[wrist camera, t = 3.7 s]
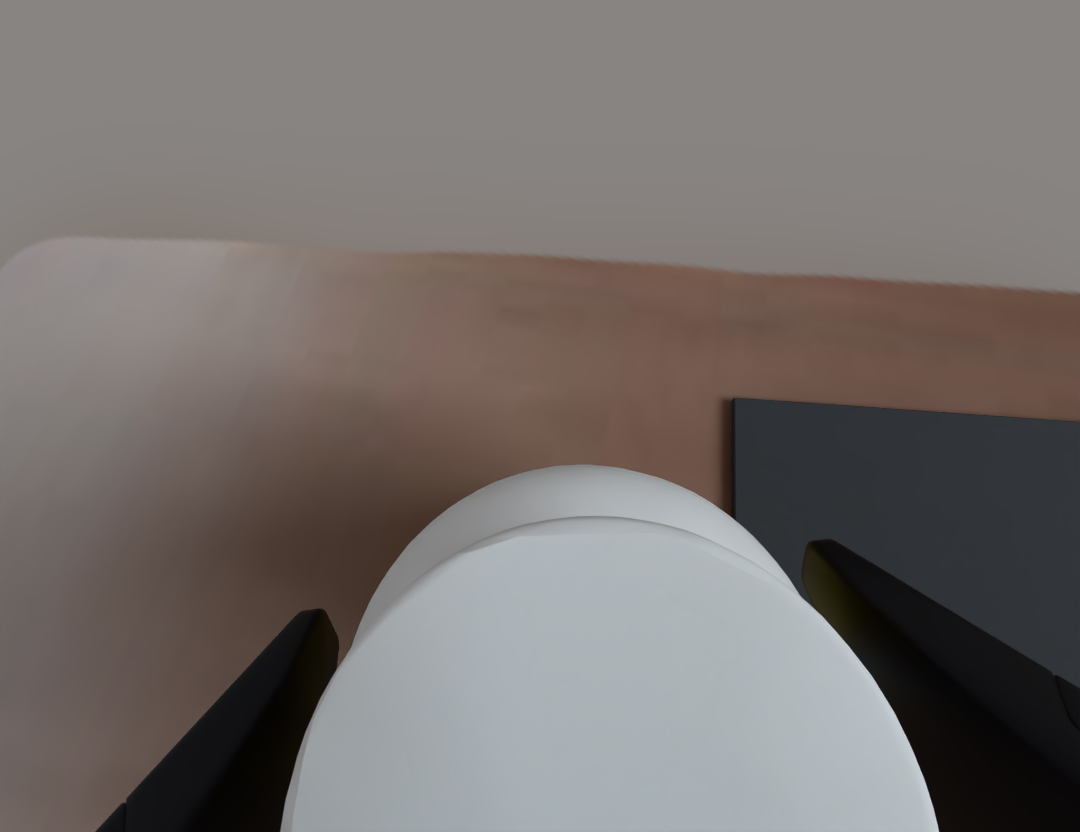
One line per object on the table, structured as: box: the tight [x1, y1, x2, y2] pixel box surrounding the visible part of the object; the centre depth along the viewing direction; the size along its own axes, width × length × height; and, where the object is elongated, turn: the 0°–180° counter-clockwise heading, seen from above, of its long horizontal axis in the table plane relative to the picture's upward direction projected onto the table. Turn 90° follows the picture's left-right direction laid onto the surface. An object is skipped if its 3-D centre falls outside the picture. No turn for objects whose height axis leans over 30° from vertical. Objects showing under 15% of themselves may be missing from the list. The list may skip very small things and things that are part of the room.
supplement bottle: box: [280, 464, 939, 832], centre depth 10 cm, size 7×7×13 cm
